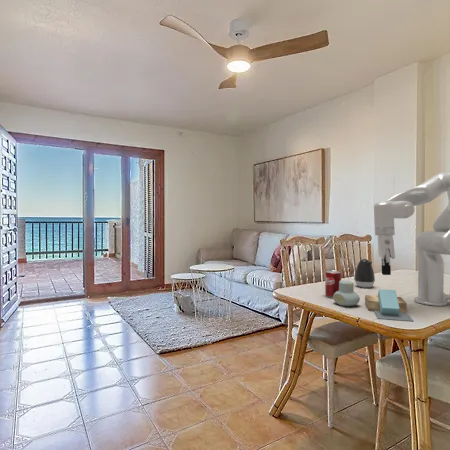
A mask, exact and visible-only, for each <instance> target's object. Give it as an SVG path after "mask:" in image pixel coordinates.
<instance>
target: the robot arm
mask: <svg viewBox="0 0 450 450" xmlns="http://www.w3.org/2000/svg"><path fill="white" fill-rule="evenodd" d="M445 193H446V194H447V198H448V199H447V200H448V204H447V206H446V208H445V209H444V210H443V211H442V212H440V215H438V217H437V218H436V219H435V221H434V222H433V224H432V227H433V228H432V229H433V230H426V231H422V232H420V233H419V234H418V235H417V236H416V239H415V246H416V250H417V257H418V258H417V259H418V260H417V261H418V264H417V265H418V266H417V267H418V269H417V270H418V272H417V274H418V276H417V277H418V278H417V280H418V281H417V285H418V287H417V288H418V289H417V290H418V291H417V296H414V297H413V298H414V299H413V301H414V302H415V303H418V304H421V305H426V306H433V307H444V306H447V305H448V303H449V302H448V301H449V300H450V294H446V293H445V291H444V289H445V288H444V285H445V283H444V282H445V281H444V276H445V274H444V273H445V272H444V271H445V270H444V269H445V262H444V259H443V257H442V255H445V256H448V255H449V256H450V170H449V171H441V172H438V173H437V174H435V175H433V176H432V177H430V178H428V179H426V180H424V181H423V182H421V183H420V184H418V185H416V186H414V187H411V188H410V189H408V190H405V191H402V192H401V193H397V194H395V195H394V196H392V197H390V198H388V199H387V200H385V202H384V201H383V202H376V203H374V205H373V217H374V218H373V219H374V220H373V221H374V236H377V251H378V252H377V253H378V256H379V257H380V258H381V259H380V260H381V274H382V276H391V275H392V271H391V270H392V269H391V259H393V260H394V259H395V258H396V253H395V244H394V237H393V236H395V219H398V220H399V219H403V220H404V219H409V218H410V217H412V216H413V215H414V214H415V209H416V208H415V206H421V205H425V204H428V203H431V202H432V201H434V200H435V199H436V198H438V197H439V196H441V195H443V194H445Z"/></svg>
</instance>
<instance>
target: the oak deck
mask: <svg viewBox="0 0 450 450" xmlns="http://www.w3.org/2000/svg"><path fill="white" fill-rule="evenodd" d="M364 299H365V300H364V301H365V302H364V305H365V307H366V308H367V311H372V312H374V311H380V305H379V299H378V295H374V294H371V295H370V294H365V295H364ZM397 300H398V304H399V308H400V309H399V312H403V313H407V314H408V312H407V308H408V307H407V306H408V305H407V304H408V303H407V302H406V301H405V300H404V299H403V297H401V296H397Z"/></svg>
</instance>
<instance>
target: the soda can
mask: <svg viewBox="0 0 450 450" xmlns="http://www.w3.org/2000/svg"><path fill="white" fill-rule="evenodd" d="M324 279H325V282H324V284H325V285H324V286H325V287H324V289H325V291H324V293H325V294H324V296H325V297H326V298H329V299H333V295H334V293H335V292H337V291H339V282H340V281H342V272H341V271H338V270H326V271H325V273H324Z"/></svg>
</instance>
